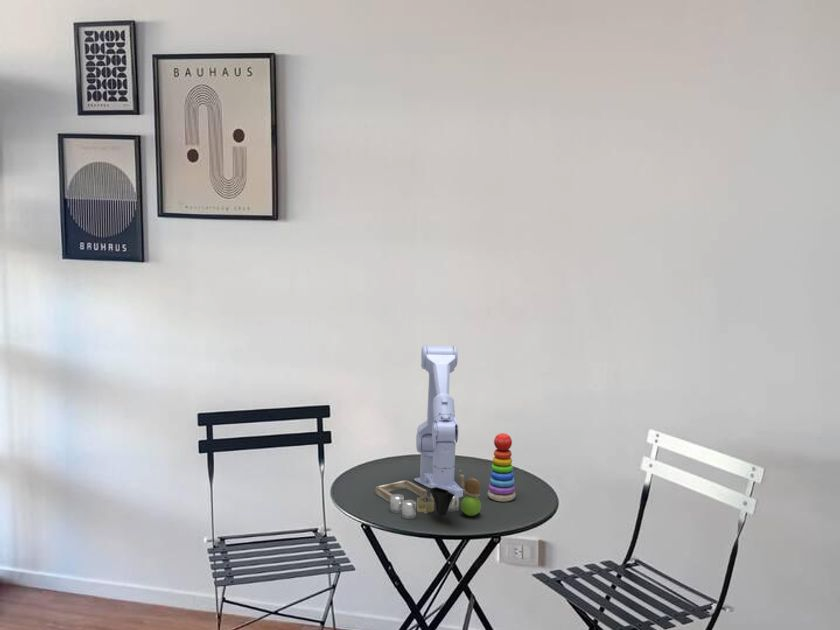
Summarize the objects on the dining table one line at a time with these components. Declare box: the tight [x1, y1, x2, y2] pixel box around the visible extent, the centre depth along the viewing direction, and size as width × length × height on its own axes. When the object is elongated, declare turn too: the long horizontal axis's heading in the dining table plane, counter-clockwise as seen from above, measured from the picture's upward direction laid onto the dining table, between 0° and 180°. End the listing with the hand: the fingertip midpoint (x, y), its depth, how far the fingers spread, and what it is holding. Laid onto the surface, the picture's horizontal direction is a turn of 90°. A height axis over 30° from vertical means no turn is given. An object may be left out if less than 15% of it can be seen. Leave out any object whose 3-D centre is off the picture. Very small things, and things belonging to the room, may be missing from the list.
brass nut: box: [416, 496, 435, 514], centre depth 220 cm, size 5×4×3 cm
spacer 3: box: [447, 495, 460, 513], centre depth 221 cm, size 4×4×4 cm
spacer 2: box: [401, 499, 417, 520], centre depth 215 cm, size 4×4×4 cm
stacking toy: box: [487, 432, 517, 502], centre depth 229 cm, size 8×8×19 cm
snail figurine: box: [458, 469, 482, 517], centre depth 216 cm, size 5×6×12 cm
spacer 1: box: [389, 493, 405, 514], centre depth 218 cm, size 4×4×4 cm
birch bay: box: [374, 479, 428, 503], centre depth 229 cm, size 11×10×2 cm
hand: (442, 514), depth 214 cm, fingers closed
